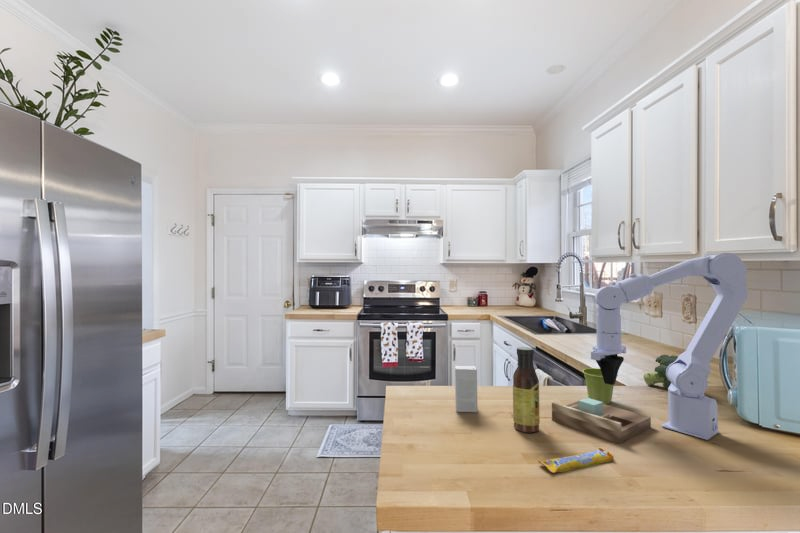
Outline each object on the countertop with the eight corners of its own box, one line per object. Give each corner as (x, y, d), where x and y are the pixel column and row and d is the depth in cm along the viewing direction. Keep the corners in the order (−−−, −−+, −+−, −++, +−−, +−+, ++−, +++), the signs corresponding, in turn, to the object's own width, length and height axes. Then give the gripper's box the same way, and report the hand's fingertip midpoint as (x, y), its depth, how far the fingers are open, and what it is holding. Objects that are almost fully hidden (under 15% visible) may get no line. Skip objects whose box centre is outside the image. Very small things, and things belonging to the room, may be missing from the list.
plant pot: (624, 406, 111) (624, 376, 111) (591, 406, 111) (591, 376, 111) (607, 396, 120) (607, 368, 120) (577, 395, 120) (576, 368, 121)
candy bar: (600, 454, 83) (600, 445, 83) (617, 463, 79) (617, 454, 79) (536, 467, 78) (536, 458, 78) (550, 478, 74) (550, 468, 74)
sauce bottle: (541, 435, 92) (540, 351, 92) (514, 432, 93) (513, 350, 93) (537, 424, 98) (536, 346, 98) (512, 422, 100) (511, 345, 100)
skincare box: (476, 407, 111) (476, 365, 111) (477, 412, 106) (477, 369, 106) (454, 406, 111) (454, 365, 111) (455, 412, 107) (455, 369, 107)
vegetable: (658, 374, 137) (702, 363, 126) (659, 406, 129) (707, 398, 118) (633, 355, 135) (676, 343, 124) (633, 387, 128) (679, 377, 116)
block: (603, 418, 96) (603, 402, 96) (594, 421, 93) (594, 405, 93) (587, 413, 99) (587, 397, 99) (578, 416, 97) (578, 400, 97)
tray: (650, 427, 96) (650, 409, 96) (619, 443, 87) (619, 423, 87) (585, 407, 110) (585, 391, 110) (551, 420, 101) (551, 402, 101)
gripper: (607, 327, 109) (608, 375, 109) (579, 332, 101) (579, 385, 100) (633, 330, 103) (634, 381, 103) (606, 336, 95) (607, 391, 95)
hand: (609, 383), depth 101 cm, fingers closed
